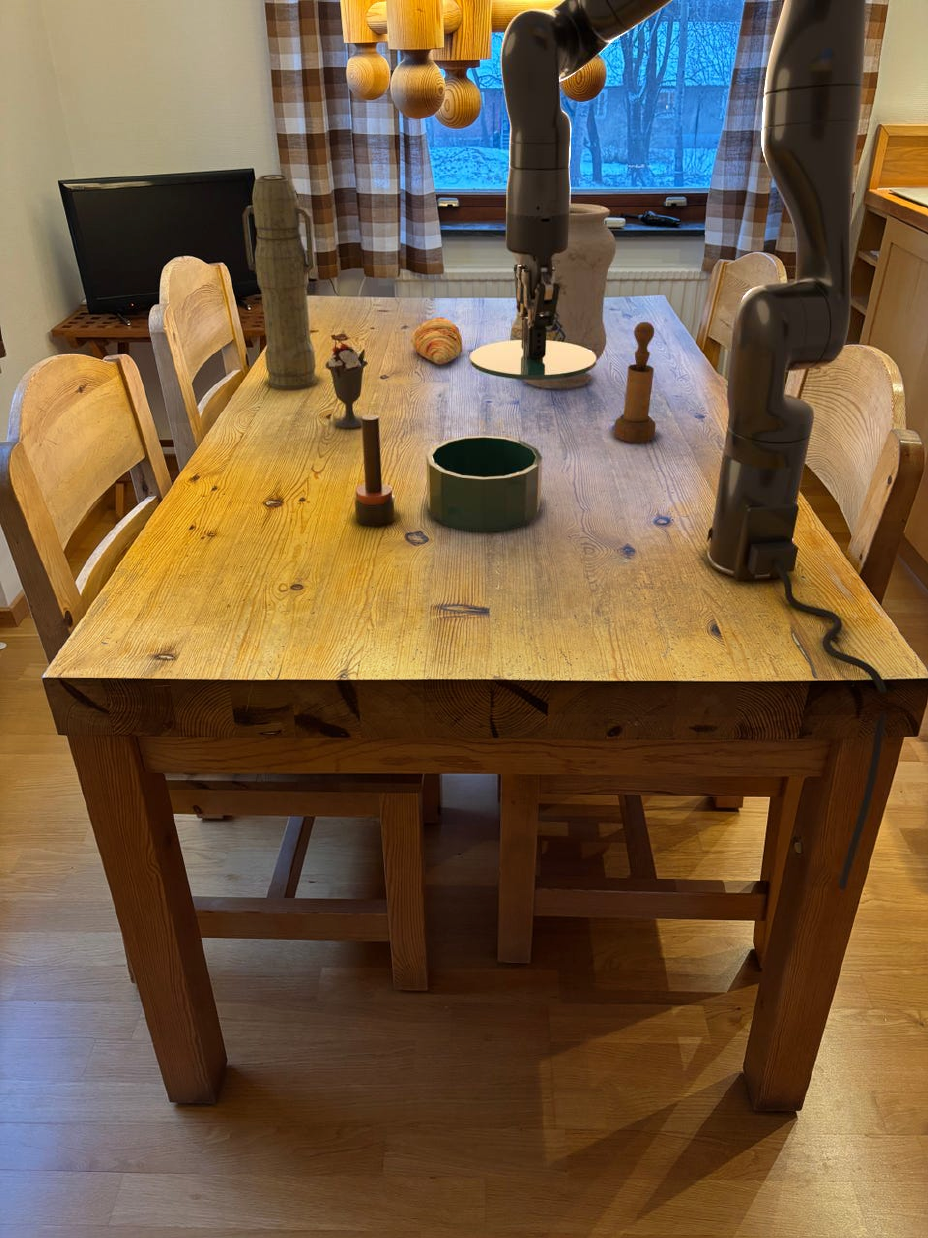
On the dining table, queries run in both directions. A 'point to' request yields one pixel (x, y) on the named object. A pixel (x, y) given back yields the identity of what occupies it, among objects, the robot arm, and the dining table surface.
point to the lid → (532, 359)
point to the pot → (484, 483)
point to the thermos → (283, 279)
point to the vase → (579, 288)
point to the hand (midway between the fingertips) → (533, 353)
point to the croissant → (437, 340)
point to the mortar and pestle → (638, 393)
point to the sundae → (347, 380)
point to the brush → (373, 480)
